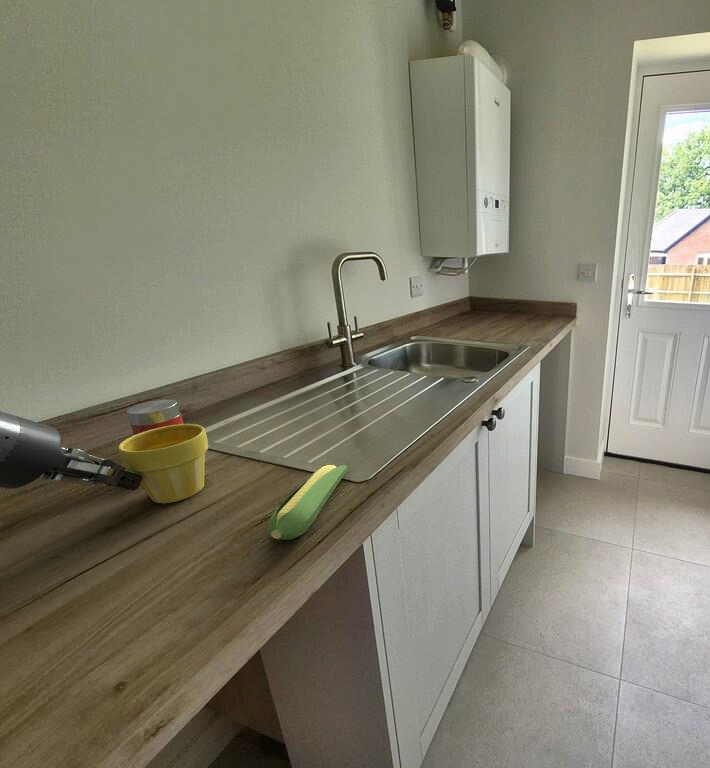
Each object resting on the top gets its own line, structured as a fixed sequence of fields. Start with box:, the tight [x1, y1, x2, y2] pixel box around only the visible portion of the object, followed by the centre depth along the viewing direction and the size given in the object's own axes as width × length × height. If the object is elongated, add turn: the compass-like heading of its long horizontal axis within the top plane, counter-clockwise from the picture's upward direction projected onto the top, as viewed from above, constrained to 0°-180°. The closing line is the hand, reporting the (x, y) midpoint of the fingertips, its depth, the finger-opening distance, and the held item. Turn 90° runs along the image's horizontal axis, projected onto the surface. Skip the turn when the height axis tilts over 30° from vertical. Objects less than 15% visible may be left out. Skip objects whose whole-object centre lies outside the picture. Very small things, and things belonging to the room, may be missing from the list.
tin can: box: [126, 399, 185, 436], centre depth 72 cm, size 7×7×12 cm
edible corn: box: [268, 460, 350, 541], centre depth 61 cm, size 5×20×5 cm, turn 179°
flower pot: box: [117, 423, 209, 504], centre depth 64 cm, size 10×10×10 cm
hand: (135, 482), depth 59 cm, fingers closed
